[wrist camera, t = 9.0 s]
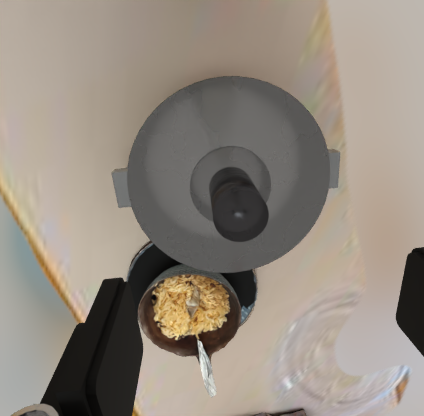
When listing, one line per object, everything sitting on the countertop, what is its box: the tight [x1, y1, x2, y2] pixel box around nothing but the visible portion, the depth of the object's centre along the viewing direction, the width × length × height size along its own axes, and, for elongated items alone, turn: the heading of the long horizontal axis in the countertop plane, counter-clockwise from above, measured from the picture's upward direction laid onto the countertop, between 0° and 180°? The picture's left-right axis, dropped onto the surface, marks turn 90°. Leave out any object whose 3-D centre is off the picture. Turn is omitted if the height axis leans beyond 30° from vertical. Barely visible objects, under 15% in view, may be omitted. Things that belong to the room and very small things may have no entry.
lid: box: [127, 76, 330, 273], centre depth 21 cm, size 15×15×7 cm
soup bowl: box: [126, 242, 258, 397], centre depth 34 cm, size 15×16×7 cm
